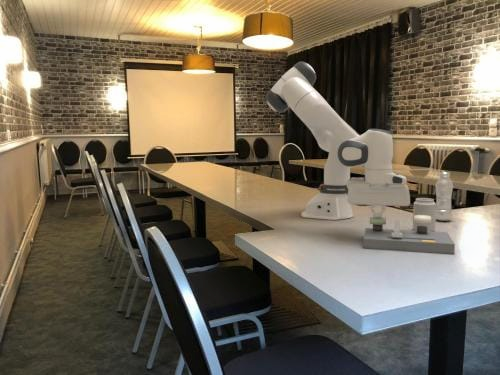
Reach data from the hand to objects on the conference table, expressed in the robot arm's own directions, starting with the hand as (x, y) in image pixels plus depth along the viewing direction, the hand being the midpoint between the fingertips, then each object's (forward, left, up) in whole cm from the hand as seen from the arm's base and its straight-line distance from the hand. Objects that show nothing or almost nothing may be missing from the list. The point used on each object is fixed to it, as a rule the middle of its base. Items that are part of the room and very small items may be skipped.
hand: (377, 218), depth 140 cm
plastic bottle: (+25, +38, -8) cm, 46 cm away
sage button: (0, 0, -2) cm, 2 cm away
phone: (-10, +76, -8) cm, 77 cm away
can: (+16, +17, -8) cm, 25 cm away
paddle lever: (+6, -9, -4) cm, 12 cm away
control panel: (+9, -5, -7) cm, 13 cm away
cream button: (+14, 0, -1) cm, 14 cm away
